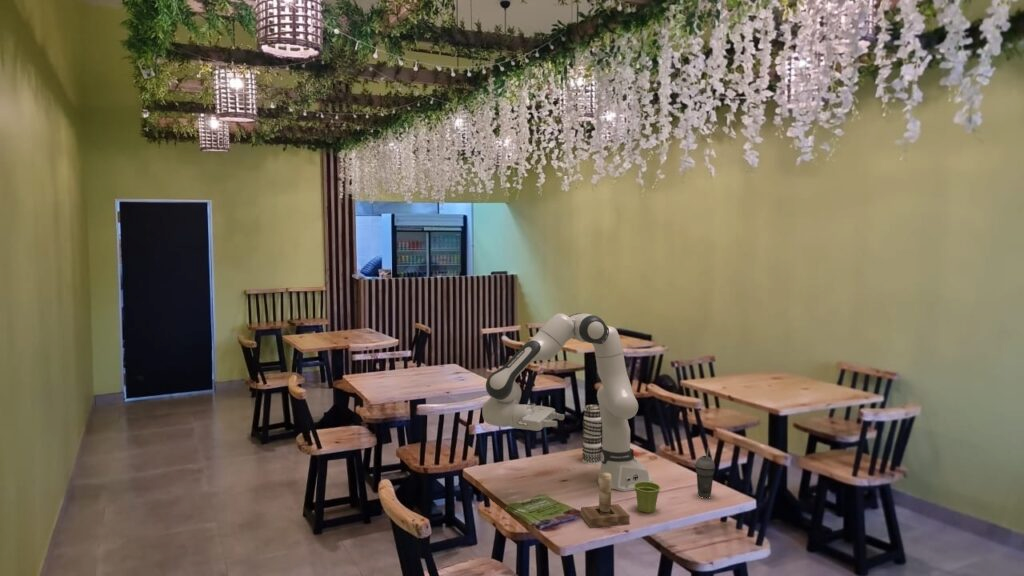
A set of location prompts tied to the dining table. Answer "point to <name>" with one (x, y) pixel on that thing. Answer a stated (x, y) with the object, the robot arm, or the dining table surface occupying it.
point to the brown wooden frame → (605, 516)
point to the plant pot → (646, 496)
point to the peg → (605, 493)
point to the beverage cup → (704, 475)
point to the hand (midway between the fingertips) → (560, 420)
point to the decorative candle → (592, 434)
